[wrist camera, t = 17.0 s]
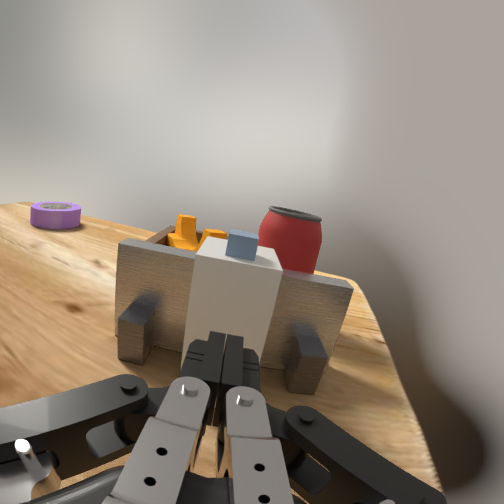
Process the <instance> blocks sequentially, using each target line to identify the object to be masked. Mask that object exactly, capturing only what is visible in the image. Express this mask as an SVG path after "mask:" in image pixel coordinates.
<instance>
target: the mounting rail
mask: <svg viewBox="0 0 504 504" xmlns="http://www.w3.org/2000/svg"><path fill="white" fill-rule="evenodd" d="M196 253H197V252H195V251H190V250H185V249H180V248H175V247H170V246H165V245H160V244H155V243H150V242H145V241H140V240H135V239H131V238H128V239H126V240H124V241H122V242H120V243H119V244H118V256H117V271H116V291H115V335H116V336H118V359H121V360H125V361H128V362H131V363H135V364H139V365H143V364H144V362H145V360H146V358H147V356H148V354H149V352H150V350H151V349H152V347H153V346H157V347H161V348H166V349H170V350H174V351H179V352H183V343H184V335H185V326H186V318H187V311H188V303H189V296H190V289H191V282H192V275H193V268H194V262H195V255H196ZM282 270H283V273H282V277H281V281H280V285H279V289H278V293H277V297H276V301H275V305H274V309H273V313H272V317H271V321H270V325H269V329H268V333H267V337H266V340H265V344H264V348H263V352H262V355H261V359H260V363H259V367H266V368H274V369H281V370H285V375H286V380H287V386H288V391H289V392H290V393H300V394H313V395H314V393H315V391H316V388H317V386H318V383H319V381H320V378H321V376H322V374H324V372H325V370H326V367H327V365H328V362H329V359H330V357H331V354H332V351H333V349H334V346H335V343H336V341H337V338H338V335H339V332H340V329H341V326H342V324H343V321H344V318H345V315H346V312H347V309H348V306H349V303H350V299H351V296H352V293H353V290H354V288H353V287H352V286H351V285H350V284H349V283H348V282H347V281H346V280H341V279H336V278H330V277H325V276H320V275H314V274H309V273H304V272H298V271H293V270H288V269H283V268H282Z"/></svg>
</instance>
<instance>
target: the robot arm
mask: <svg viewBox="0 0 504 504" xmlns="http://www.w3.org/2000/svg"><path fill="white" fill-rule="evenodd" d="M225 338H226V334H225V333H220V332H215V331H210V333H209V337H208V341H204V340H199V339H195V340H194V341H193V342H191V343H190V344H189V347H188V350H187V353H186V356H185V359H184V362H183V365H182V368H181V371H180V374H179V377H178V378H177V379H175V380H174V381H173V382H172V383H171V385H170V386H168V387H165V388H148V385H147V384H146V382H145V381H144V380H143V379H141V378H140V377H137V376H135V375H130V374H122V375H118V376H115V377H111V378H108V379H105V380H102V381H99V382H96V383H92V384H89V385H86V386H82V387H79V388H76V389H72V390H69V391H65V392H62V393H58V394H54V395H51V396H47V397H43V398H39V399H36V400H32V401H28V402H23V403H19V404H15V405H11V406H6V407H2V408H0V504H306V503H305V502H304V501H303V500H301V499H300V498H298V497H297V496H295V495H293V494H292V493H291V488H292V489H293V490H294V491H295V492H297V493H298V494H299V495H300V496H301V497H302V498H304V499H305V500H306V501H307V502H308V503H310V504H447V502H446V499H445V497H444V495H443V494H442V493H441V492H440V491H438V490H436V489H435V488H433V487H431V486H429V485H428V484H426V483H424V482H422V481H421V480H419V479H417V478H416V477H414V476H412V475H411V474H409V473H407V472H406V471H404V470H402V469H401V468H399V467H398V466H396V465H394V464H393V463H391V462H390V461H388V460H387V459H385V458H384V457H382V456H380V455H379V454H377V453H376V452H374V451H373V450H371V449H370V448H368V447H367V446H366V445H364V444H363V443H361V442H360V441H358V440H357V439H355V438H354V437H352V436H351V435H350V434H348V433H347V432H345V431H344V430H343V429H341V428H340V427H338V426H337V425H336V424H334V423H333V422H332V421H330V420H329V419H327V418H326V417H325V416H323V415H322V414H321V413H319V412H318V411H317V410H315V409H313V408H310V407H307V406H295V407H292V408H290V409H289V410H288V411H287V412H285V411H282V410H279V409H276V408H273V407H271V406H270V405H268V404H267V403H266V402H265V398H264V396H263V395H262V394H261V391H260V373H259V357H258V355H257V354H256V352H255V351H254V349H248V348H243V342H244V337H242V336H236V335H231V334H227V338H226V343H225ZM224 345H225V348H224ZM223 352H224V353H223ZM215 403H216V405H215ZM214 408H215V412H214ZM213 413H214V420H213V426H216V427H218V434H217V438H216V478H206V477H203V476H200V475H197V474H195V473H193V471H194V467H195V463H196V460H197V456H198V452H199V449H200V445H201V441H202V436H203V435H204V434H205V430H206V425H210V426H211V423H212V418H213ZM128 453H131V454H130V456H129V458H128V460H127V462H126V464H125V465H123V466H117V467H113V468H110V469H107V470H105V471H102V472H100V473H98V474H96V475H94V476H91V477H89V478H87V479H84V480H82V481H80V482H77V483H75V484H73V485H70V486H68V487H65V488H63V489H60V490H59V488H60V485H61V480H64V479H67V478H70V477H72V476H75V475H78V474H81V473H83V472H86V471H88V470H91V469H93V468H96V467H98V466H101V465H103V464H106V463H108V462H110V461H113V460H115V459H117V458H120V457H122V456H124V455H126V454H128ZM308 454H310V455H311V456H312V457H313V458H315V459H316V460H317V461H318V462H320V463H321V464H322V465H323V466H325V467H326V468H327V469H328V470H329V471H330V472H328V471H327V470H326V469H324V468H323V467H322V466H321V465H319V464H318V463H317V462H316V461H314V460H313V459H312V458H311V457H309V456H308ZM290 487H291V488H290Z"/></svg>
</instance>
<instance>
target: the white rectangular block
mask: <svg viewBox="0 0 504 504" xmlns="http://www.w3.org/2000/svg"><path fill="white" fill-rule="evenodd" d="M258 242H259V237H258V234H256V233H250V232H245V231H239V230H235V229H230V232H229V237H228V240H225V239H220V238H215V237H210V236H207V238H206V239H205V241H204V242H203V244H202V245H201V247H200V248H199V250H198V252H197V253H196V255H195V262H194V268H193V275H192V282H191V289H190V296H189V303H188V311H187V318H186V326H185V335H184V343H183V352H182V361H181V368H182V365H183V362H184V359H185V356H186V353H187V350H188V347H189V344H190V343H191V342H193V341H194V340H195V339H199V340H204V341H208V337H209V333H210V331H215V332H220V333H225V334H226V338H227V334H231V335H236V336H242V337H244V342H243V348H248V349H254V351H255V352H256V354H257V355H258V357H259V363H260V359H261V355H262V352H263V348H264V344H265V340H266V337H267V333H268V329H269V325H270V321H271V317H272V313H273V309H274V305H275V301H276V297H277V293H278V289H279V285H280V281H281V277H282V273H283V270H282V267H281V265H280V263H279V260H278V258H277V255H276V253H275V250H274V249H272V248H267V247H262V246H258ZM226 338H225V343H226ZM224 348H225V345H224ZM223 353H224V352H223ZM215 405H216V403H215Z"/></svg>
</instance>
